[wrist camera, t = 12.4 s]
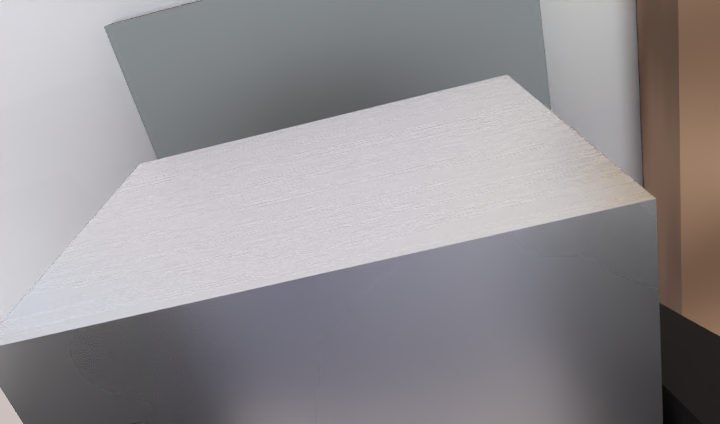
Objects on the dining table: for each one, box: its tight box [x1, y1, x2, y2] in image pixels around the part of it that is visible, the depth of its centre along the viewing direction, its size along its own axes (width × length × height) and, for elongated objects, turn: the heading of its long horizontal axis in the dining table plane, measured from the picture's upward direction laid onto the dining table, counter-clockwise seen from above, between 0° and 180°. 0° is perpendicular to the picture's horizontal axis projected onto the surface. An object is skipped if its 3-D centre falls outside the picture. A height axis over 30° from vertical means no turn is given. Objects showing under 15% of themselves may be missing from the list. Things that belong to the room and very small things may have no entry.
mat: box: [104, 0, 551, 159], centre depth 16 cm, size 10×10×1 cm
